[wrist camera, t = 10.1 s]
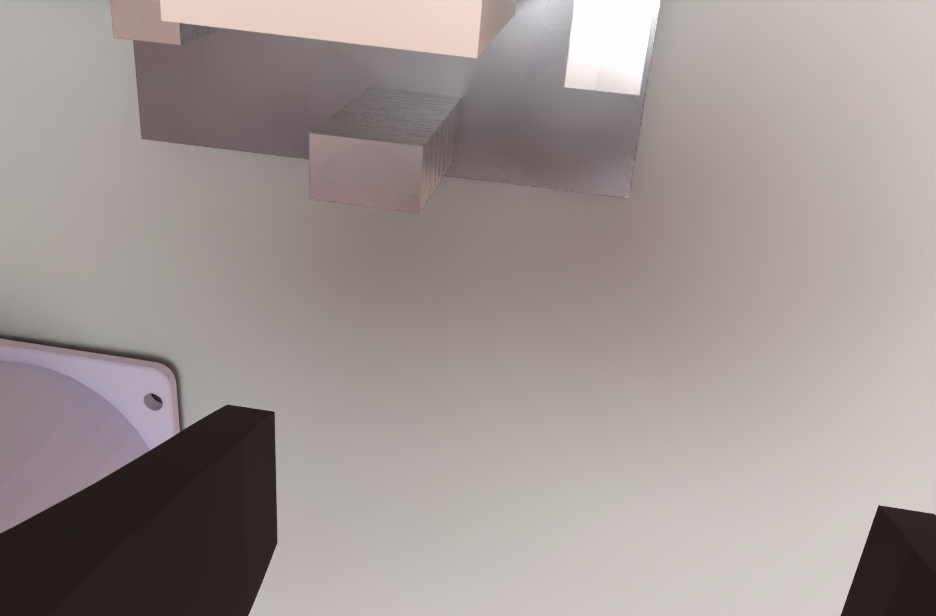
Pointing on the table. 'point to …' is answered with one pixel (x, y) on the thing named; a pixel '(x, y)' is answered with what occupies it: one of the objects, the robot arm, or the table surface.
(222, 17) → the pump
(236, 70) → the grey peg tray
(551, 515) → the table surface
